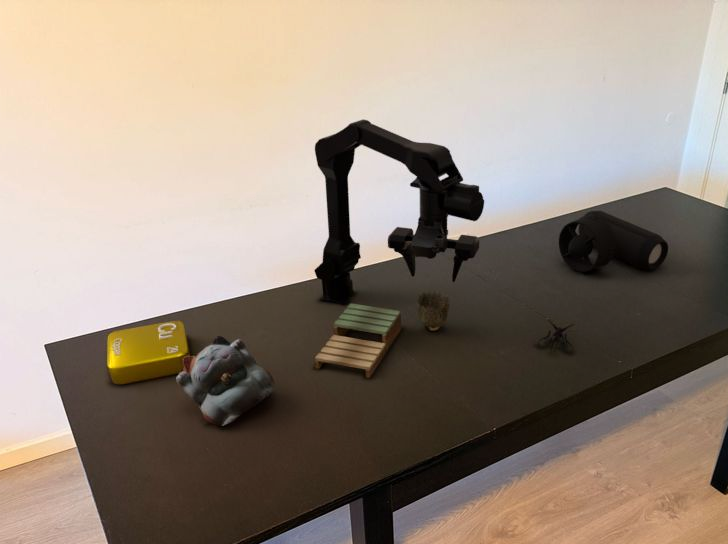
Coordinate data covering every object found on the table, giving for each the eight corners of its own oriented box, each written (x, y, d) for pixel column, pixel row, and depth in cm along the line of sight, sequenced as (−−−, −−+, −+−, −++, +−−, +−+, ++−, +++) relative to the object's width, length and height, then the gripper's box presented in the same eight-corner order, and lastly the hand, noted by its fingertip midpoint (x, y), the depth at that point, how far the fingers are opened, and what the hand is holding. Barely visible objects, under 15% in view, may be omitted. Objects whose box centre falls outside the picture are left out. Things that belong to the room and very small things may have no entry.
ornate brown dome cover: (445, 340, 146) (446, 308, 141) (413, 335, 147) (413, 304, 142) (452, 323, 152) (452, 293, 147) (421, 319, 153) (421, 289, 149)
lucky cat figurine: (207, 437, 116) (165, 371, 112) (205, 421, 128) (166, 360, 123) (283, 394, 120) (244, 329, 116) (274, 382, 131) (239, 322, 127)
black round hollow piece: (551, 216, 170) (576, 207, 176) (546, 266, 178) (570, 256, 184) (595, 233, 161) (620, 223, 167) (587, 285, 169) (611, 274, 175)
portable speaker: (666, 268, 179) (673, 234, 173) (642, 277, 174) (649, 242, 169) (597, 236, 196) (602, 204, 191) (574, 244, 191) (578, 211, 186)
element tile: (112, 348, 140) (106, 329, 137) (186, 335, 145) (182, 316, 142) (112, 387, 129) (105, 367, 126) (192, 371, 134) (187, 351, 131)
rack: (315, 368, 135) (313, 348, 133) (352, 321, 152) (350, 302, 149) (369, 378, 133) (368, 357, 130) (401, 329, 149) (400, 310, 146)
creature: (569, 362, 141) (577, 337, 146) (571, 344, 137) (579, 319, 143) (534, 355, 143) (542, 330, 149) (535, 337, 140) (544, 313, 145)
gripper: (377, 219, 129) (380, 289, 138) (468, 230, 125) (466, 301, 134) (395, 200, 138) (397, 267, 147) (481, 210, 134) (478, 278, 143)
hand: (433, 278), depth 142 cm, fingers open, 9 cm apart
